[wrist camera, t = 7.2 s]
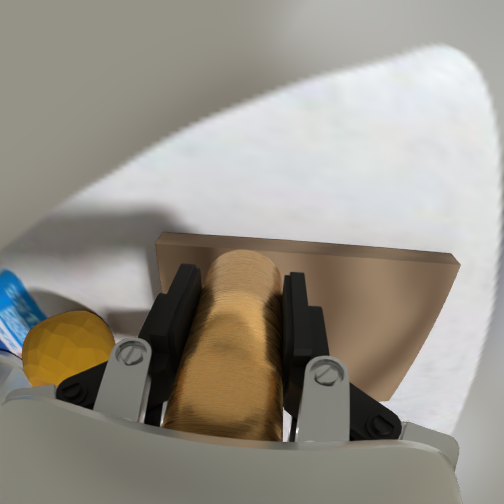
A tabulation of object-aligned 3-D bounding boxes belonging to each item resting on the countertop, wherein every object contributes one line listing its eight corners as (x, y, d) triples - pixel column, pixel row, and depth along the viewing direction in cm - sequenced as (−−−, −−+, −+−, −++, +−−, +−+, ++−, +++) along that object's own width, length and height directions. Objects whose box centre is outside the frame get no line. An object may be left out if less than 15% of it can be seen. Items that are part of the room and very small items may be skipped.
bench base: (186, 381, 27) (170, 443, 21) (162, 232, 19) (117, 301, 13) (385, 389, 26) (399, 447, 20) (451, 253, 18) (499, 317, 12)
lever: (261, 423, 23) (254, 528, 14) (214, 418, 23) (197, 521, 14) (293, 234, 14) (310, 448, 5) (205, 227, 14) (125, 424, 5)
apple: (41, 303, 24) (-6, 368, 16) (88, 275, 21) (30, 356, 14) (96, 362, 27) (65, 429, 20) (151, 348, 25) (120, 432, 17)
